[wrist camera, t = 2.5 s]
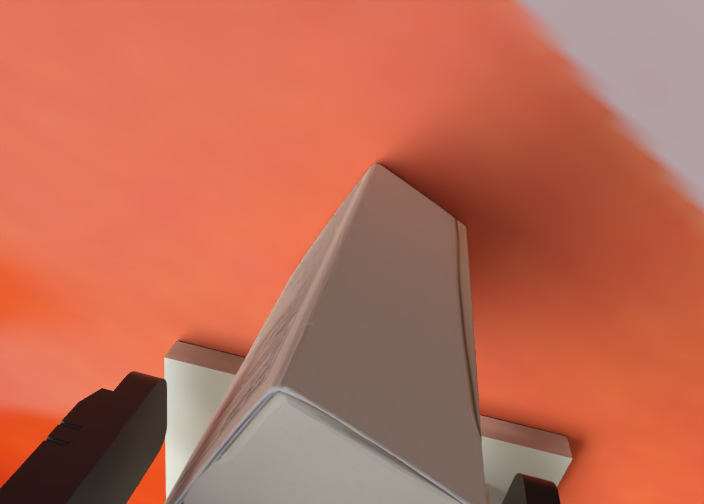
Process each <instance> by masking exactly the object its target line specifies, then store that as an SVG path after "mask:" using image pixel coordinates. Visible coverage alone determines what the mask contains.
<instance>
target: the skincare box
mask: <svg viewBox="0 0 704 504" xmlns="http://www.w3.org/2000/svg"><path fill="white" fill-rule="evenodd" d="M164 504H486V490H485V477H484V464H483V453H482V437H481V423H480V410H479V394H478V382H477V365H476V351H475V340H474V325H473V310H472V297H471V285H470V270H469V256H468V241H467V230H466V226H465V225H463V224H462V223H461V222H459V221H458V220H457V219H455V218H454V217H453V216H451V215H450V214H449V213H447V212H446V211H445V210H443V209H442V208H441V207H439V206H438V205H437V204H435V203H434V202H432V201H431V200H430V199H428V198H427V197H425V196H424V195H423V194H421V193H420V192H418V191H417V190H416V189H414V188H413V187H411V186H410V185H409V184H407V183H406V182H404V181H403V180H402V179H400V178H399V177H397V176H396V175H394V174H393V173H392V172H390V171H389V170H387V169H386V168H385V167H383V166H382V165H380V164H373V165H372V166H371V167H370V168H369V169H368V171H367V172H366V173H365V175H364V176H363V177H362V178H361V180H360V181H359V182H358V183H357V185H356V186H355V187H354V189H353V190H352V191H351V193H350V194H349V195H348V197H347V198H346V199H345V201H344V202H343V203H342V205H341V206H340V207H339V209H338V210H337V211H336V213H335V214H334V215H333V217H332V218H331V219H330V221H329V222H328V224H327V225H326V226H325V228H324V229H323V231H322V232H321V233H320V235H319V236H318V237H317V239H316V240H315V242H314V243H313V244H312V246H311V247H310V249H309V250H308V252H307V253H306V254H305V256H304V257H303V259H302V260H301V262H300V263H299V265H298V266H297V268H296V269H295V271H294V272H293V274H292V275H291V277H290V279H289V281H288V283H287V285H286V286H285V288H284V290H283V292H282V294H281V295H280V297H279V299H278V301H277V302H276V304H275V306H274V308H273V310H272V311H271V313H270V315H269V317H268V318H267V320H266V322H265V324H264V325H263V327H262V329H261V331H260V333H259V335H258V336H257V338H256V340H255V342H254V343H253V345H252V347H251V349H250V351H249V353H248V354H247V356H246V358H245V360H244V362H243V363H242V365H241V367H240V369H239V371H238V372H237V374H236V376H235V378H234V379H233V381H232V383H231V385H230V387H229V388H228V390H227V392H226V394H225V396H224V397H223V399H222V401H221V403H220V405H219V406H218V408H217V410H216V412H215V413H214V415H213V417H212V419H211V421H210V422H209V424H208V426H207V428H206V429H205V431H204V433H203V435H202V437H201V438H200V440H199V442H198V444H197V445H196V447H195V449H194V451H193V453H192V454H191V456H190V458H189V460H188V461H187V463H186V465H185V467H184V469H183V471H182V472H181V474H180V476H179V478H178V480H177V481H176V483H175V485H174V487H173V489H172V490H171V492H170V494H169V496H168V498H167V499H166V501H165V503H164Z"/></svg>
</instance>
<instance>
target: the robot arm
mask: <svg viewBox="0 0 704 504" xmlns="http://www.w3.org/2000/svg"><path fill="white" fill-rule="evenodd" d="M166 431H167V382H166V380H165V379H162V378H158V377H154V376H150V375H146V374H143V373H139V372H135V371H133V372H131V373H129V374H128V375H127V376H126V377H125V378H124V379H123V381H122V382H121V383H120V384H119V385H118V386H117V388H116V389H115V390H114V391H110V390H107V389H103V388H102V389H100V390H98V391H97V392H95V393H93V394H92V395H90V396H88V397H87V398H85V399H83V400H82V401H80V402H78V403H77V405H76V406H75V407H74V408H73V409H72V410H71V411H70V412H69V413H68V415H67V416H66V417H65V418H64V419H63V420H62V422H61V424H60V425H58V426H57V427H56V428H55V429H54V430H53V431H52V432H51V433H50V434H49V436H48V438H47V440H46V441H43V442H42V443H41V444H40V445H39V447H38V448H37V449H36V450H35V451H34V452H33V453H32V454H31V455H30V456H29V458H28V459H27V460H26V461H25V462H24V463H23V464H22V465H21V466H20V468H19V469H18V470H17V471H16V472H15V473H14V474H13V475H12V476H11V477H10V479H9V480H8V481H7V482H6V483H5V484H4V485H3V486H2V487H1V488H0V504H126V503H127V501H128V500H129V498H130V497H131V495H132V494H133V492H134V490H135V489H136V487H137V486H138V484H139V483H140V481H141V479H142V478H143V476H144V475H145V473H146V472H147V470H148V468H149V467H150V465H151V464H152V462H153V461H154V459H155V457H156V456H157V454H158V453H159V451H160V449H161V446H162V444H163V442H164V439H165V435H166ZM502 504H560V499H559V495H558V490H557V487H556V485H555V483H554V482H552V481H548V480H544V479H540V478H537V477H533V476H529V475H525V474H521V473H517V474H516V475H515V477H514V479H513V481H512V483H511V485H510V487H509V489H508V491H507V493H506V495H505V498H504V500H503V502H502Z"/></svg>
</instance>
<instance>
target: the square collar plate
mask: <svg viewBox="0 0 704 504" xmlns="http://www.w3.org/2000/svg"><path fill="white" fill-rule="evenodd" d="M244 360H245V357H241V356H237V355H233V354H229V353H224V352H220V351H216V350H212V349H208V348H204V347H200V346H196V345H192V344H188V343H184V342H180V341H176V343H175V344H174V345H173V347H172V348H171V349H170V351H169V352H168V353H167V355H166V356H165V357H164V365H165V380H166V382H167V431H166V435H165V444H166V499H167V498H168V496H169V494H170V492H171V490H172V489H173V487H174V485H175V483H176V481H177V480H178V478H179V476H180V474H181V472H182V471H183V469H184V467H185V465H186V463H187V461H188V460H189V458H190V456H191V454H192V453H193V451H194V449H195V447H196V445H197V444H198V442H199V440H200V438H201V437H202V435H203V433H204V431H205V429H206V428H207V426H208V424H209V422H210V421H211V419H212V417H213V415H214V413H215V412H216V410H217V408H218V406H219V405H220V403H221V401H222V399H223V397H224V396H225V394H226V392H227V390H228V388H229V387H230V385H231V383H232V381H233V379H234V378H235V376H236V374H237V372H238V371H239V369H240V367H241V365H242V363H243V362H244ZM480 423H481V437H482V453H483V464H484V477H485V490H486V504H502V502H503V500H504V498H505V495H506V493H507V491H508V489H509V487H510V485H511V483H512V481H513V479H514V477H515V475H516V474H517V473H521V474H525V475H529V476H533V477H537V478H540V479H544V480H548V481H552V482H554V483H555V485H556V487H557V486H558V484H559V482H560V481H561V479H562V477H563V475H564V473H565V472H566V470H567V468H568V466H569V464H570V463H571V461H572V459H573V458H572V454H571V450H570V446H569V442H568V438H567V436H563V435H559V434H555V433H551V432H547V431H543V430H539V429H534V428H530V427H526V426H522V425H518V424H514V423H510V422H506V421H502V420H498V419H494V418H490V417H486V416H481V415H480Z"/></svg>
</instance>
